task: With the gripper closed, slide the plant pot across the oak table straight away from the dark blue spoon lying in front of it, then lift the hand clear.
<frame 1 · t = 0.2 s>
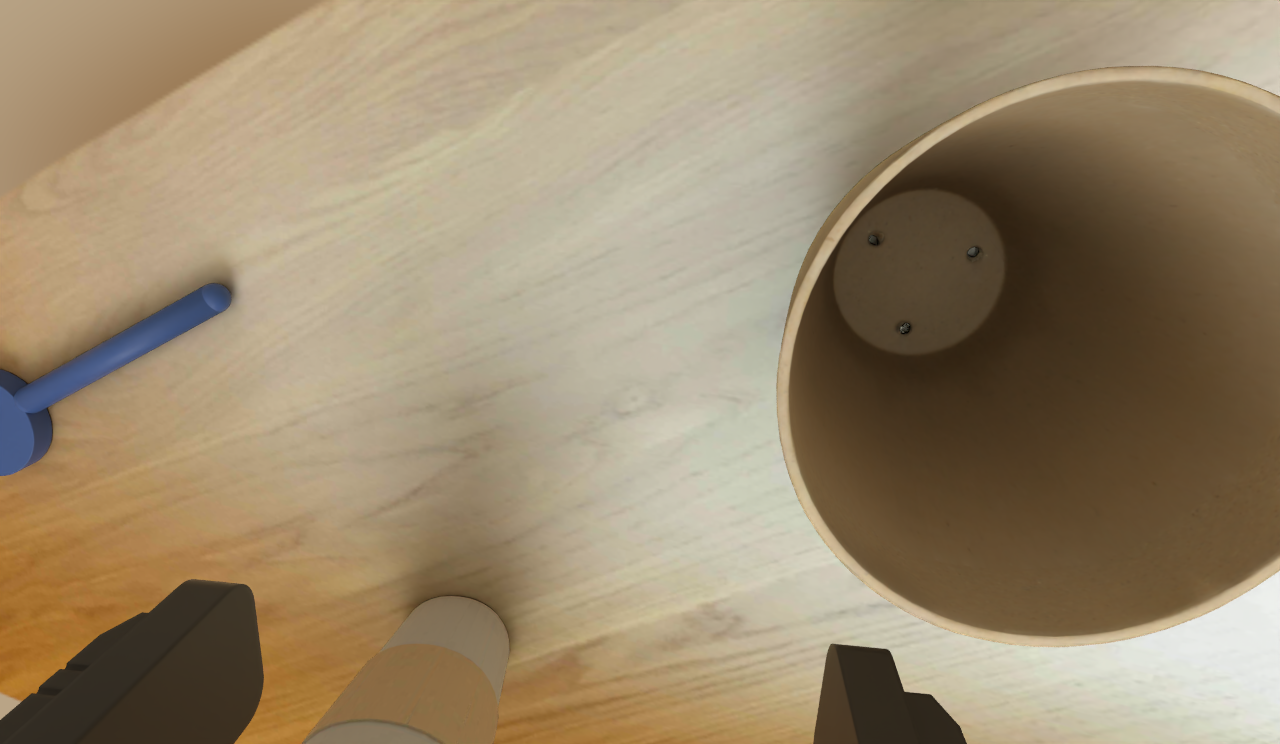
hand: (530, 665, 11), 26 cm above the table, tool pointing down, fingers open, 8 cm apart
blue spoon: (85, 371, 39), on the table
coffee cup: (461, 638, 43), on the table
plant pot: (917, 268, 34), on the table
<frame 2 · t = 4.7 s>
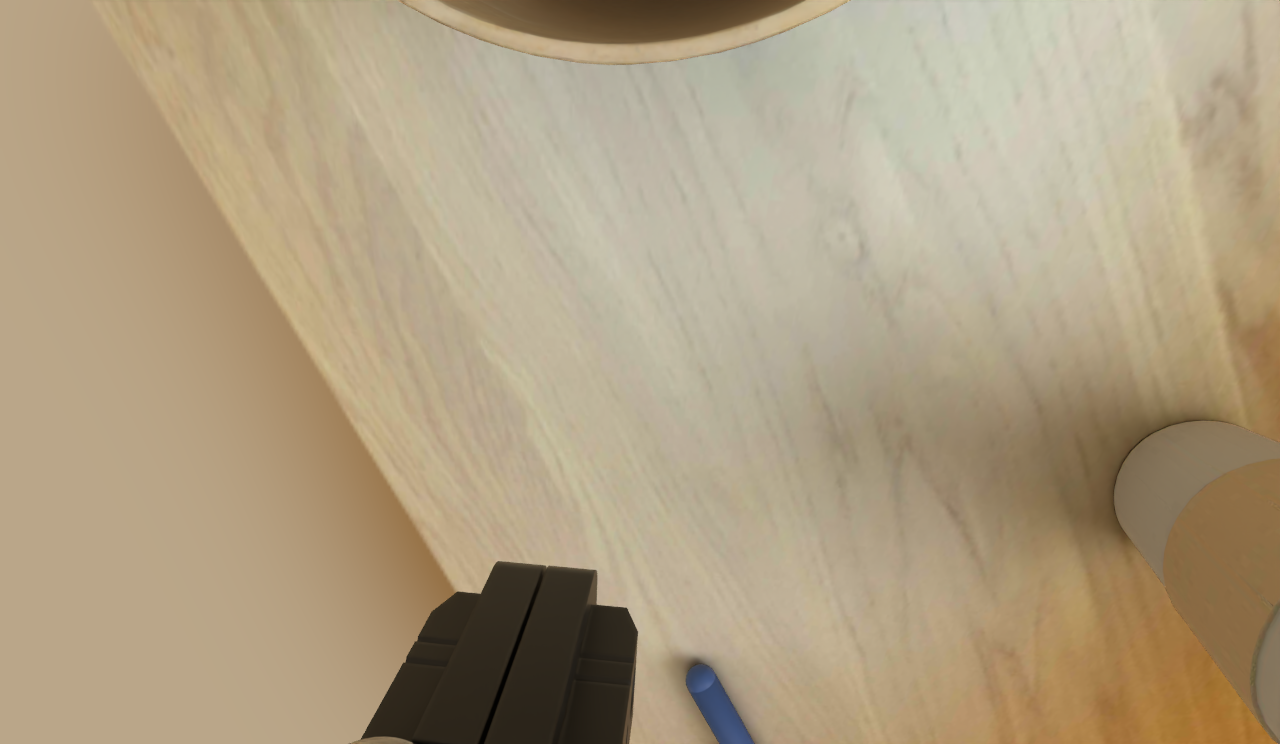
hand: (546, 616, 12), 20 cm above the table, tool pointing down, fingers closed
coffee cup: (1187, 482, 31), on the table
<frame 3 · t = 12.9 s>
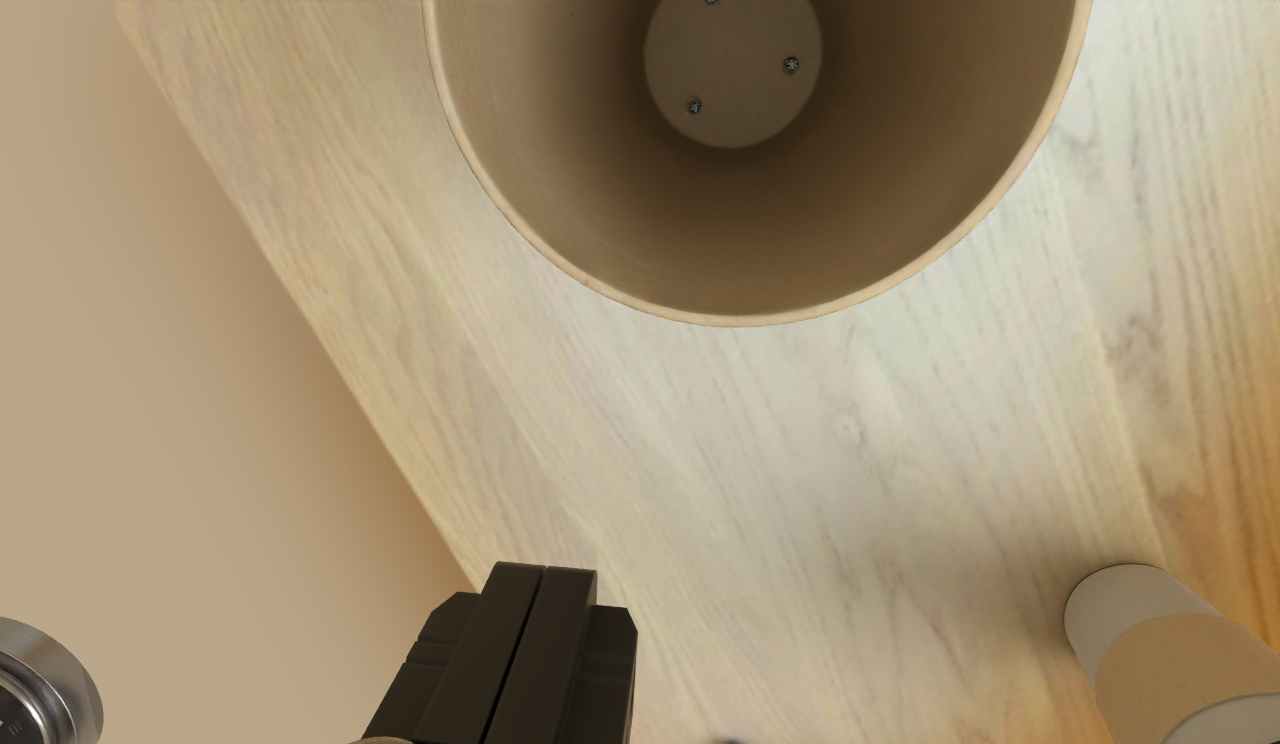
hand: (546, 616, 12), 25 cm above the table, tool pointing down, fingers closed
coffee cup: (1122, 608, 39), on the table
plant pot: (728, 53, 32), on the table
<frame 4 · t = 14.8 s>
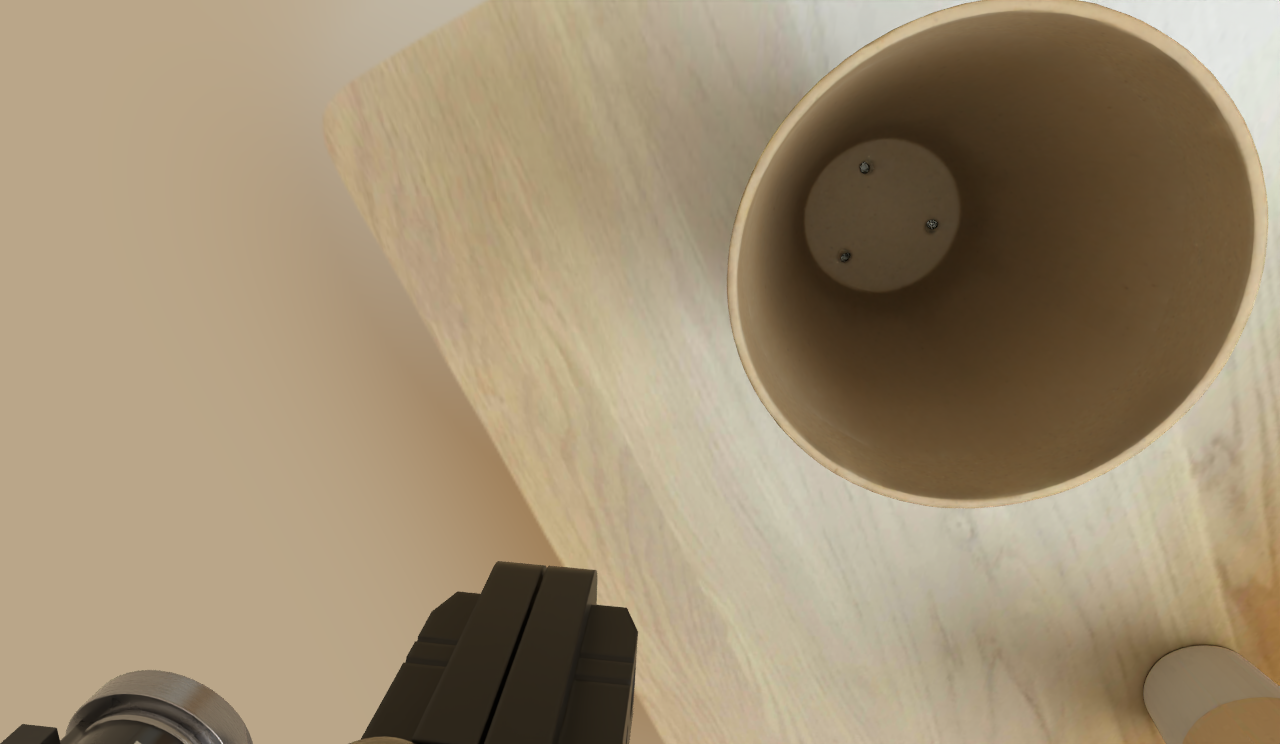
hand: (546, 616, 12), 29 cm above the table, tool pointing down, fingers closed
coffee cup: (1194, 682, 44), on the table
plant pot: (875, 212, 38), on the table
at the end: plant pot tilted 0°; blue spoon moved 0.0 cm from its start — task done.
